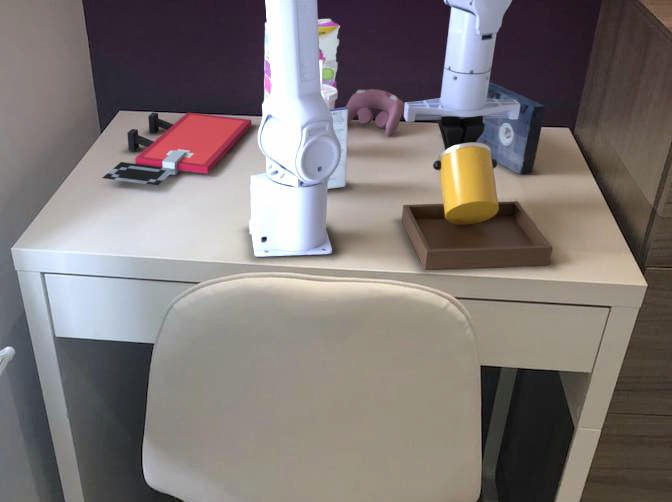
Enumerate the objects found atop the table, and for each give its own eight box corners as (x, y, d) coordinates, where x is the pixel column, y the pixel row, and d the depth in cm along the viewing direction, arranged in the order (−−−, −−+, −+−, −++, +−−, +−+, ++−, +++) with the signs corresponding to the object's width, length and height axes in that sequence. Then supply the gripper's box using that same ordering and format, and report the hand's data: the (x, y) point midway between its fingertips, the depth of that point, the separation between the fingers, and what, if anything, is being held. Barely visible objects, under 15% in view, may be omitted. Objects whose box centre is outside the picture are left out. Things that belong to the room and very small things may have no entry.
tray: (424, 269, 99) (426, 251, 98) (401, 221, 110) (403, 204, 108) (549, 265, 100) (553, 247, 99) (514, 217, 111) (517, 201, 109)
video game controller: (399, 140, 138) (411, 97, 137) (390, 135, 134) (402, 91, 133) (347, 129, 143) (358, 87, 141) (336, 124, 139) (347, 81, 137)
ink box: (340, 182, 120) (344, 101, 113) (346, 188, 118) (351, 107, 112) (264, 191, 117) (264, 109, 111) (269, 198, 116) (269, 115, 109)
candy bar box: (271, 135, 136) (272, 29, 126) (263, 125, 140) (262, 21, 130) (336, 128, 138) (341, 24, 129) (325, 118, 142) (330, 16, 133)
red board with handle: (90, 182, 119) (190, 196, 116) (88, 163, 117) (189, 176, 114) (167, 118, 142) (251, 128, 140) (166, 101, 141) (251, 111, 138)
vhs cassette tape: (534, 172, 124) (547, 105, 118) (517, 175, 123) (530, 107, 117) (461, 133, 137) (470, 70, 131) (446, 135, 136) (454, 73, 130)
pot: (441, 240, 104) (451, 161, 98) (421, 206, 112) (430, 131, 106) (506, 237, 104) (520, 159, 99) (482, 204, 113) (494, 130, 107)
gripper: (514, 57, 107) (497, 159, 115) (403, 59, 106) (393, 162, 114) (532, 73, 102) (513, 179, 109) (415, 76, 100) (404, 182, 108)
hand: (453, 172), depth 111 cm, fingers closed
